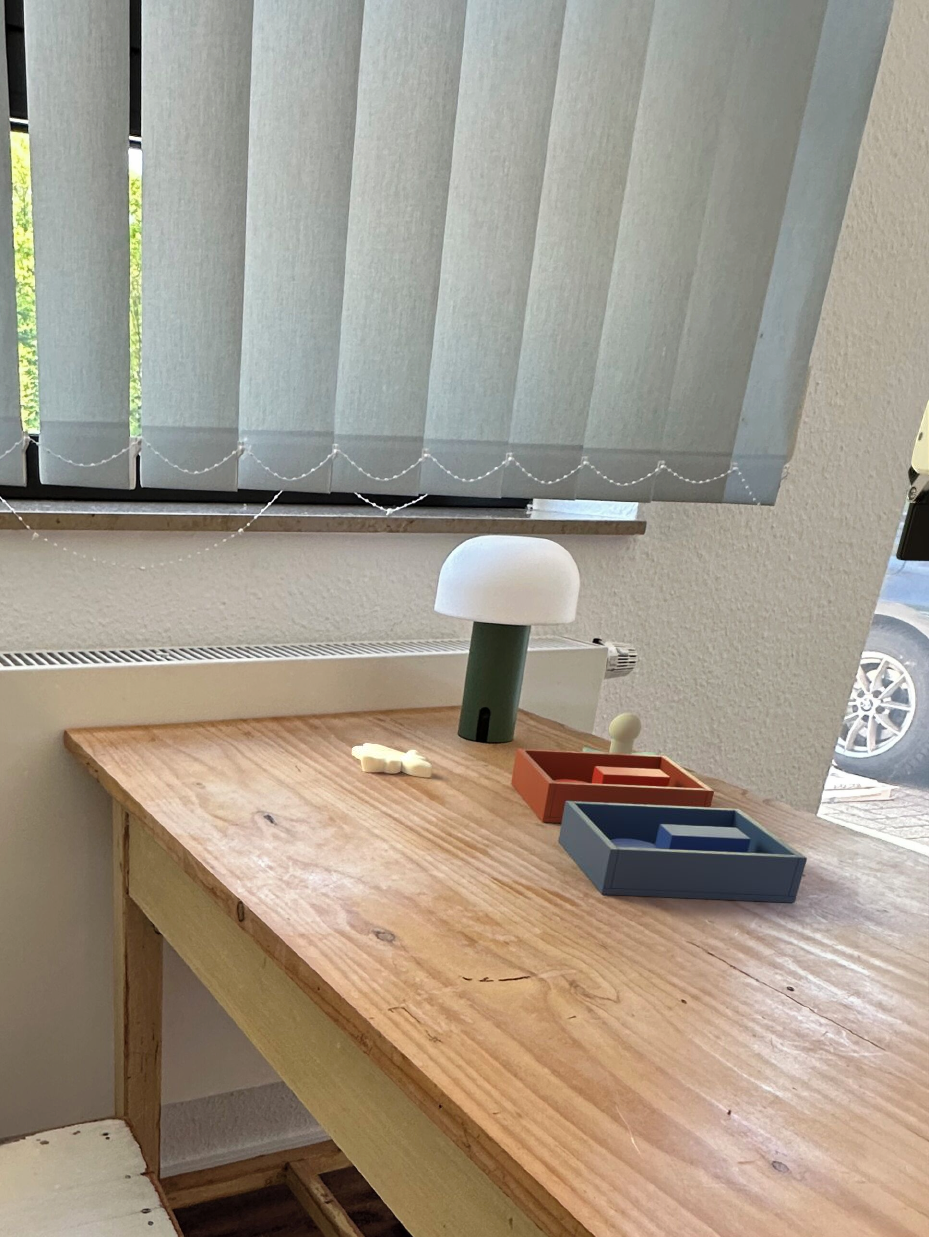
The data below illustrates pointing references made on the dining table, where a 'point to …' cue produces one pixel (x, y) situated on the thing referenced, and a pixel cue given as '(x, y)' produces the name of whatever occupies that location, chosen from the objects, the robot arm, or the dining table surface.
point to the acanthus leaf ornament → (391, 760)
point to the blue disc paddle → (693, 839)
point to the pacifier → (623, 735)
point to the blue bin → (677, 854)
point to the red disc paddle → (627, 777)
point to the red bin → (549, 797)
